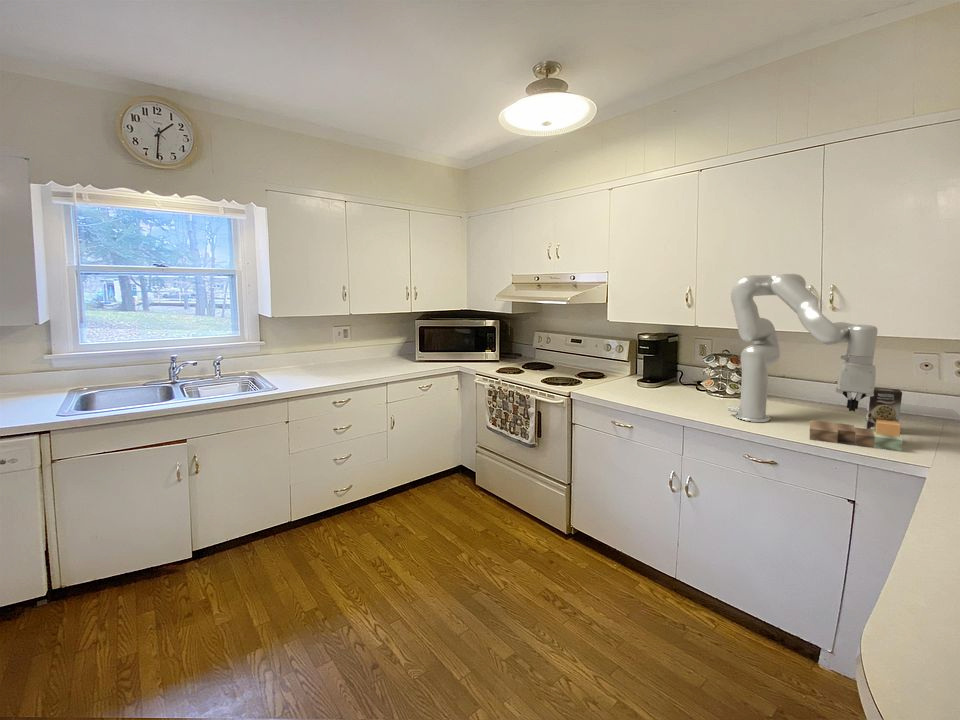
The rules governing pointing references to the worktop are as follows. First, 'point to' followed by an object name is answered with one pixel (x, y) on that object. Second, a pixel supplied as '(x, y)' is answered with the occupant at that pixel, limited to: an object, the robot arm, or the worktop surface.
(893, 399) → the coffee box
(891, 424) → the orange block
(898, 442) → the board
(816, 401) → the worktop surface
